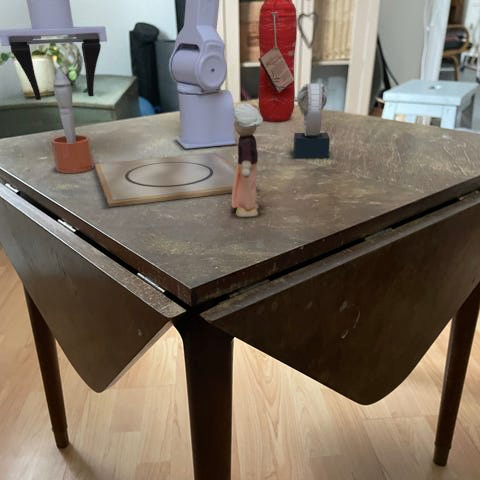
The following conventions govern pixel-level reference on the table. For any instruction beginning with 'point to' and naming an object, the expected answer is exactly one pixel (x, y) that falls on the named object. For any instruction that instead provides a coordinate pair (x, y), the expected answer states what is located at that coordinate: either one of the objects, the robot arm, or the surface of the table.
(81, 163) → the pen pot
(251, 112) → the grandmother figurine
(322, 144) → the watch
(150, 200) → the sketch board
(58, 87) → the pen
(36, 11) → the robot arm
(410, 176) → the table surface
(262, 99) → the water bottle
